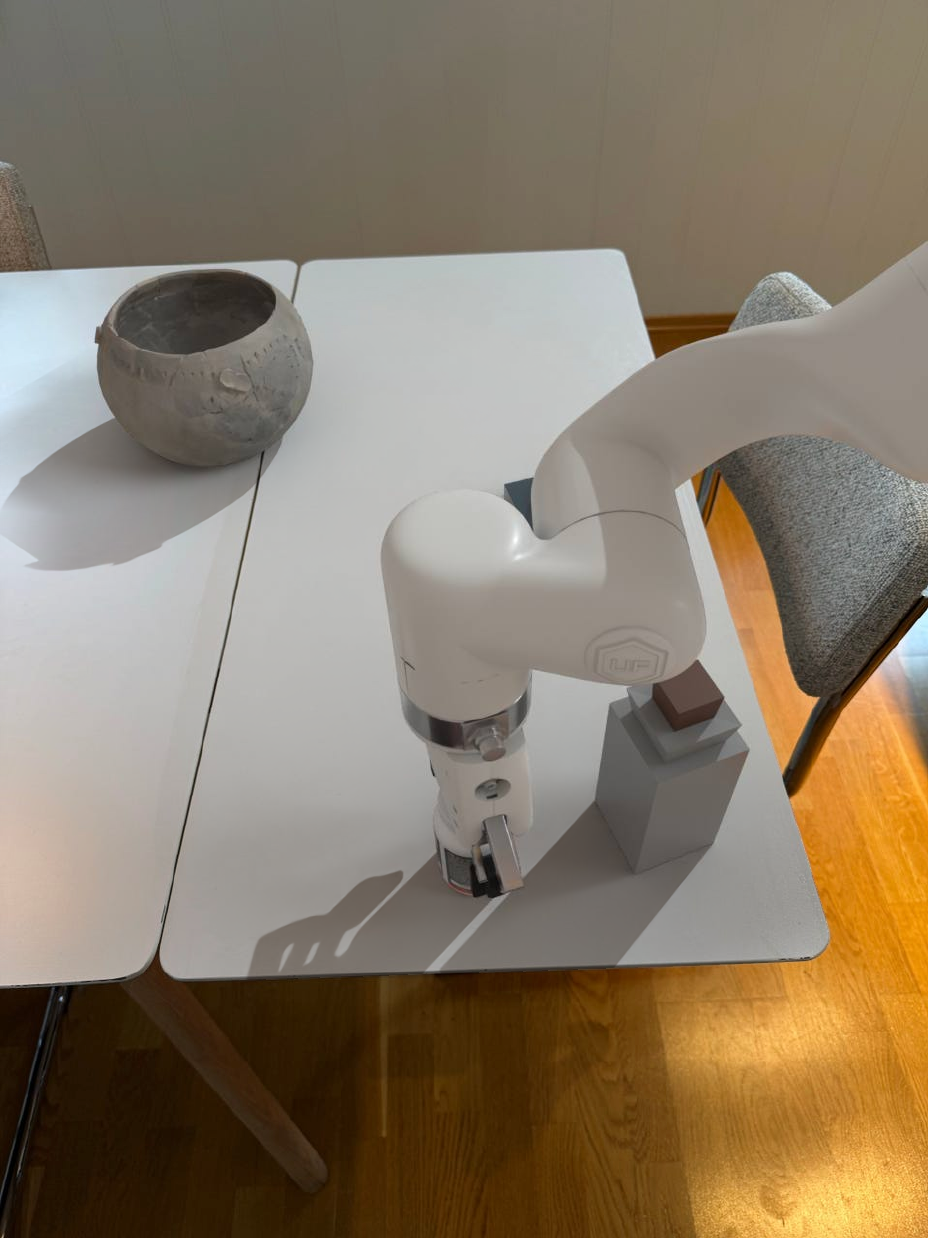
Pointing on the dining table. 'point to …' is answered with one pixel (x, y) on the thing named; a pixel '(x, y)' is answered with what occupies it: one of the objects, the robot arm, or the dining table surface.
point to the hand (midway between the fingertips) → (472, 826)
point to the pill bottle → (453, 851)
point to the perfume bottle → (669, 767)
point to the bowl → (204, 365)
